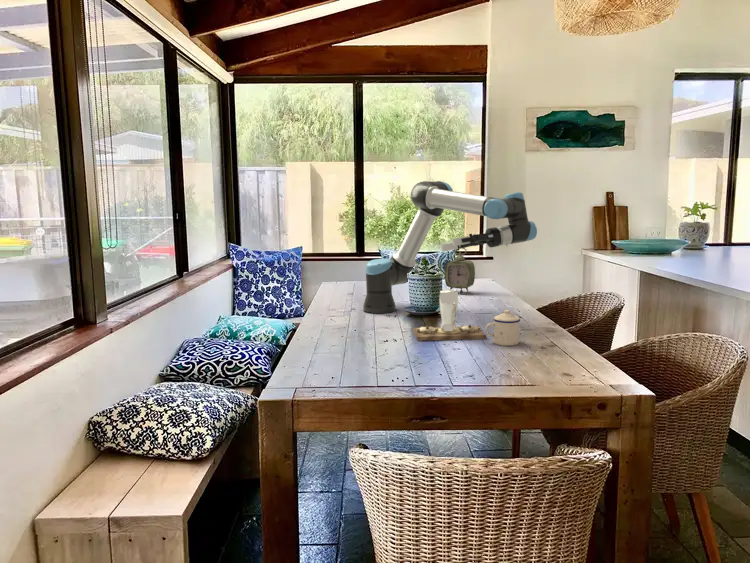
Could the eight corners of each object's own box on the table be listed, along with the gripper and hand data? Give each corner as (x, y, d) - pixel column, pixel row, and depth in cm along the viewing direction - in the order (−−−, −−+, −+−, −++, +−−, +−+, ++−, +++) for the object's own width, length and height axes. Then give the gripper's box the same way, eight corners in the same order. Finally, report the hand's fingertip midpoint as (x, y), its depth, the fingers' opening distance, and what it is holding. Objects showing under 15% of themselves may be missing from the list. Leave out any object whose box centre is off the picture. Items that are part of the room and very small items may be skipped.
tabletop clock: (444, 293, 299) (444, 247, 296) (450, 291, 307) (450, 245, 303) (470, 295, 293) (470, 248, 289) (475, 292, 300) (476, 246, 297)
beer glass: (460, 328, 212) (460, 289, 210) (454, 333, 206) (455, 292, 203) (442, 327, 215) (442, 288, 212) (436, 331, 208) (436, 291, 206)
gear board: (417, 340, 203) (417, 330, 202) (413, 331, 217) (413, 322, 216) (485, 338, 204) (485, 329, 203) (477, 329, 218) (477, 320, 217)
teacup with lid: (515, 339, 202) (516, 307, 201) (522, 345, 193) (523, 312, 192) (482, 340, 202) (483, 308, 201) (488, 346, 193) (488, 313, 192)
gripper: (513, 240, 207) (459, 250, 202) (487, 250, 231) (439, 259, 227) (509, 220, 207) (455, 229, 203) (483, 233, 231) (435, 241, 227)
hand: (447, 245), depth 215 cm, fingers open, 13 cm apart
